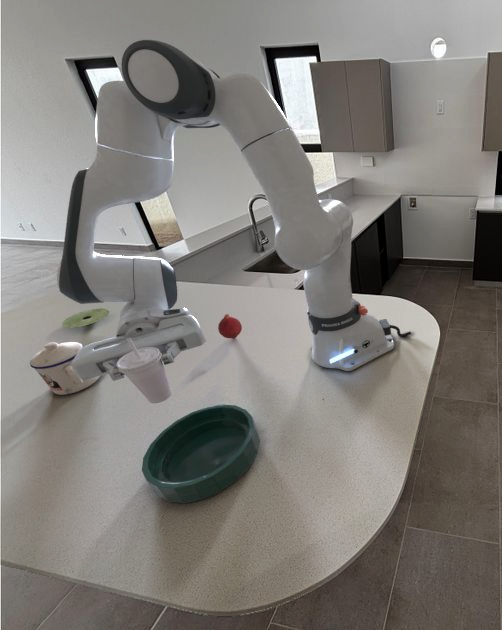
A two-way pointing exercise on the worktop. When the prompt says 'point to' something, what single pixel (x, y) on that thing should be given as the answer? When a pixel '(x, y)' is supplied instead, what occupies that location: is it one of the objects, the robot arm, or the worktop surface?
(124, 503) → the worktop surface
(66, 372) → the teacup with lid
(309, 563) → the worktop surface
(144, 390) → the smoothie
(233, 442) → the green round tray
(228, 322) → the onion
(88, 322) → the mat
